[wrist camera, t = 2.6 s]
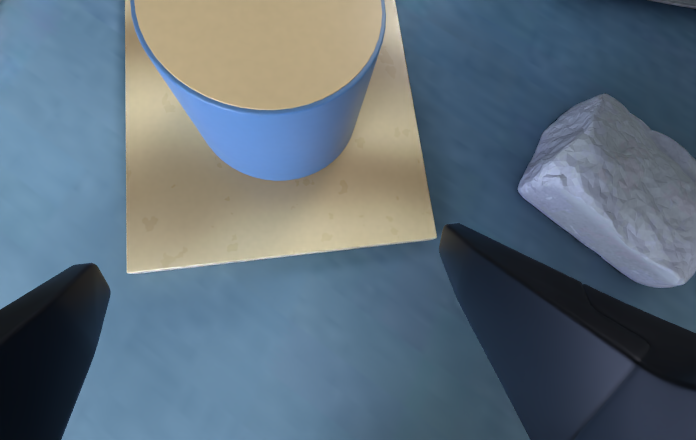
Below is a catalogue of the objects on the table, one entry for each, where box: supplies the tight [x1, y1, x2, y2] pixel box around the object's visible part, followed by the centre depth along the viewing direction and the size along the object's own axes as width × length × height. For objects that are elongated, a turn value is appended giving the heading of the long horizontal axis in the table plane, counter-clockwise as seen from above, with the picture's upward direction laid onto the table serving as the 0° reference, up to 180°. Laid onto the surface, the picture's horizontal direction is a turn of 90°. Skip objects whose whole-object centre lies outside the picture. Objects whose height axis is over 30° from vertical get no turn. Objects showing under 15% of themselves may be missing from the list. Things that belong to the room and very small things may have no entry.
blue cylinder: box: [130, 0, 386, 181], centre depth 17 cm, size 10×10×8 cm
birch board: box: [125, 0, 437, 274], centre depth 22 cm, size 27×18×1 cm, turn 7°
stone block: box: [518, 93, 696, 288], centre depth 23 cm, size 12×5×10 cm
